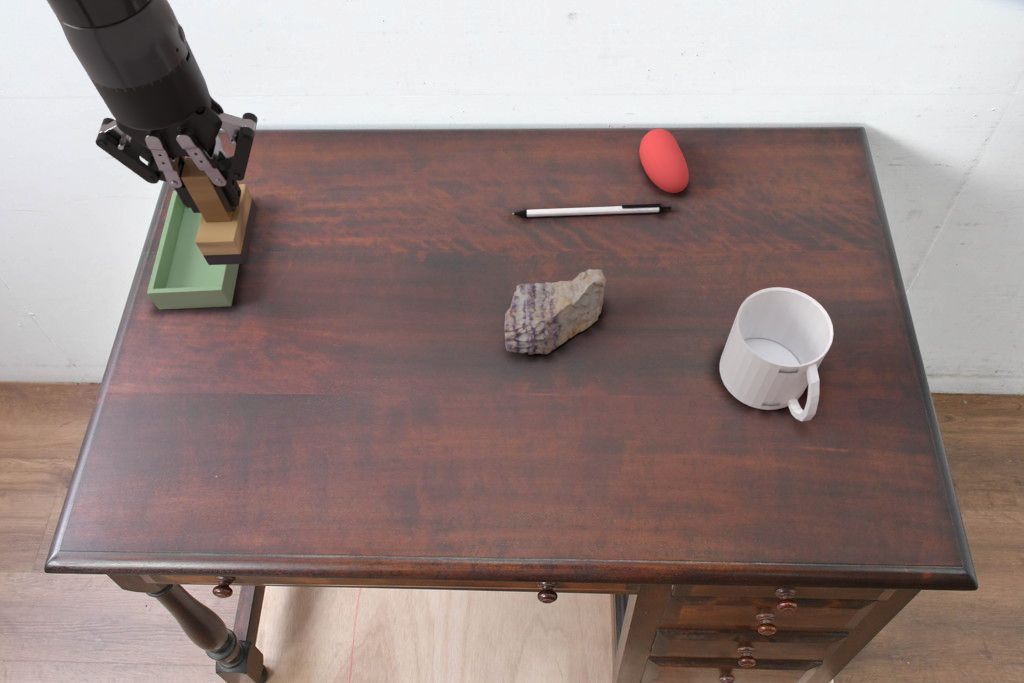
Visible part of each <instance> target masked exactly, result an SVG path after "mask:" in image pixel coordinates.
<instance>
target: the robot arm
mask: <svg viewBox="0 0 1024 683" xmlns="http://www.w3.org/2000/svg"><path fill="white" fill-rule="evenodd" d="M46 2H47V4H48V5H49V7H50V9H51V10H52V12H53V14H54V15H55V17H56V18H57V21H58V22H59V25H60V27H61V29H62V31H63V34H64V36H65V38H66V41H67V42H68V45H69V46H70V48H71V50H72V52H73V53H74V55H75V56H76V59H77V60H78V62H79V63H80V64H81V66H82V68H83V69H84V71H85V73H86V74H87V76H88V78H89V79H90V81H91V82H92V84H93V86H94V87H95V89H96V91H97V93H98V94H99V95H100V97H101V99H102V101H103V102H104V103H105V105H106V107H107V108H108V110H109V112H110V113H111V115H112V116H113V117H114V118H112V117H105V118H103V119H102V122H101V125H100V128H99V130H98V133H97V136H96V139H95V144H96V146H97V147H98V148H100V149H101V150H102V151H103V152H105V153H107V154H108V155H109V156H111V157H112V158H113V159H115V160H116V161H118V162H119V163H121V164H122V166H125V167H126V168H127V169H129V170H130V171H132V172H133V173H134V174H136V175H137V176H139V177H140V178H141V179H143V180H145V182H147V183H149V184H152V185H153V184H158V183H159V182H160V181H161V182H165V183H167V185H168V186H170V187H171V188H173V189H174V191H176V192H177V194H178V195H179V197H180V199H181V200H182V202H183V204H184V205H185V206H186V207H188V208H191V209H192V211H193V212H194V213H200V211H199V209H198V207H197V206H196V204H195V202H194V200H193V198H192V197H191V195H190V193H189V191H188V190H187V188H186V186H185V184H184V183H183V181H182V179H181V175H182V172H183V168H184V164H185V161H186V157H187V158H192V160H193V161H194V163H195V164H196V165H197V167H198V168H199V170H201V171H202V170H204V171H205V172H206V174H207V175H208V177H209V178H210V179H211V181H212V182H213V183H214V188H215V190H216V192H217V194H218V196H219V198H220V200H221V202H222V204H223V206H224V208H225V209H226V211H227V212H235V210H236V206H239V202H240V197H241V189H240V187H239V185H238V184H239V183H238V182H240V181H241V182H242V181H243V180H244V179H245V176H246V172H247V168H248V163H249V159H250V155H251V151H252V147H253V143H254V138H255V133H256V130H257V124H258V116H257V115H256V114H255V113H252V112H245V113H243V115H242V117H239V116H236V115H232V114H229V113H226V112H225V111H224V109H223V106H221V105H220V104H219V103H218V102H217V101H216V100H215V99H214V98H213V97H212V96H211V94H210V91H209V88H208V84H207V82H206V79H205V77H204V75H203V72H202V71H201V68H200V66H199V63H198V61H197V60H196V58H195V55H194V53H193V51H192V49H191V46H190V44H189V42H188V40H187V38H186V34H185V31H184V28H183V26H182V25H181V24H180V23H179V21H178V18H177V16H176V14H175V12H174V10H173V9H172V6H171V4H170V3H169V1H168V0H46ZM221 130H223V131H225V133H226V134H227V138H228V140H230V145H231V146H234V148H235V149H234V152H233V156H232V155H231V156H228V155H227V153H226V152H225V150H224V148H223V146H222V141H221V138H220V137H219V134H220V131H221ZM142 159H143V160H144V161H145V162H147V164H146V163H145V162H143V161H142Z"/></svg>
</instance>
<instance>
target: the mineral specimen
mask: <svg viewBox="0 0 1024 683" xmlns="http://www.w3.org/2000/svg"><path fill="white" fill-rule="evenodd" d="M606 279H607V278H606V277H605V275H604V272H603V270H602V269H599V268H596V269H592V268H589V269H586V271H583V272H579V273H578V275H576V277H575V278H573V279H569V280H559V281H555V282H554V281H553V282H549V281H546V282H542V283H541V282H540V283H539V282H535V283H528V282H526V283H523V284H522V283H521V284H518V285H516V290H515V292H513V296H512V300H511V302H510V303H511V304H510V307H509V309H508V310H506V312H505V313H504V324H503V326H504V327H503V330H504V340H505V342H504V344H505V350H506V351H507V352H509V353H519V354H528V355H535V354H541V355H548V354H550V353H551V352H552V351H554V350H556V349H557V348H558V347H559V346H561V345H564V343H566V342H567V341H568V340H569V339H572V338H574V336H576V335H577V334H579V333H581V332H584V331H585V330H587V329H588V328H590V327H591V326H592V325H594V324H595V323H596V322H597V321H598V320H599V316H600V315H601V314H602V310H603V304H604V297H605V287H606V285H607V281H606Z"/></svg>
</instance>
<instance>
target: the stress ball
mask: <svg viewBox="0 0 1024 683" xmlns="http://www.w3.org/2000/svg"><path fill="white" fill-rule="evenodd" d="M638 153H639V158H640V159H639V160H640V162H641V165H642V168H643V170H644V172H645V173H646V175H647V177H648V178H649V179H650V180H651V182H652V183H653V184H654V185H655V186H657V187H658V189H661V190H662V191H664V192H666V193H670V194H679V193H680V192H682V191H683V190H685V189H686V188H687V185H688V184H689V181H690V172H689V167H688V164H687V161H686V159H685V156H684V154H683V152H682V150H681V148H680V146H679V143H678V142H677V140H676V138H675V137H674V136H673V134H672V133H671V132H669V131H668V130H667V129H665V128H654V129H650V130H649V131H648V132H647V133H646V134H645V135H644V136H643V137H642V138H641V141H640V144H639V152H638Z"/></svg>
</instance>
